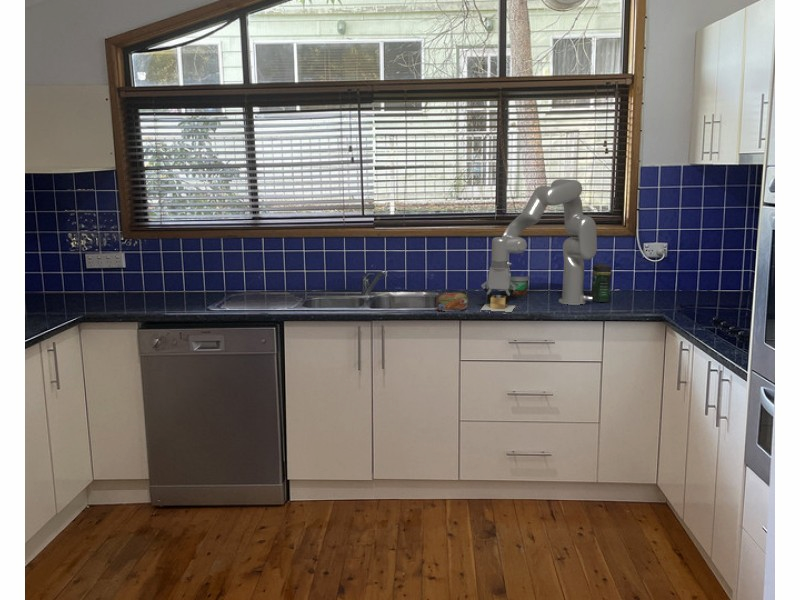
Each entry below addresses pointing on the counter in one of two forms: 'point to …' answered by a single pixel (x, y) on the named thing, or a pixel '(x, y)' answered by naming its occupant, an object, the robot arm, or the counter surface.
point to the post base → (507, 309)
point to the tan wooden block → (498, 302)
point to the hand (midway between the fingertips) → (498, 302)
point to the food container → (519, 285)
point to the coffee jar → (601, 282)
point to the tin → (452, 301)
